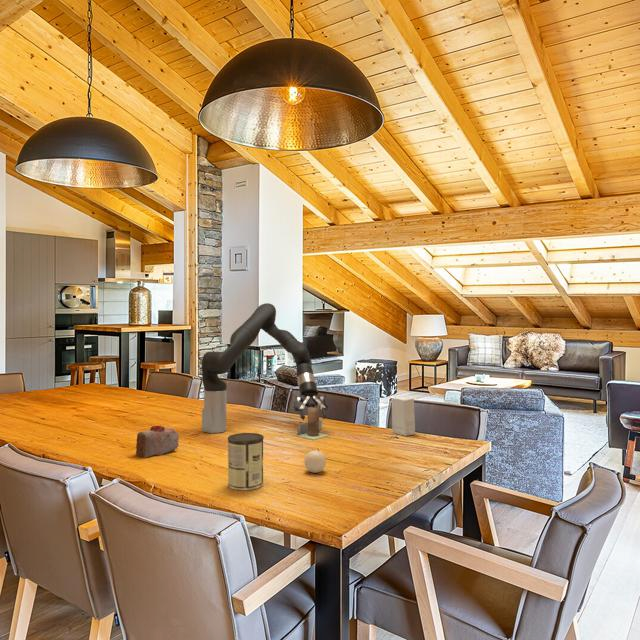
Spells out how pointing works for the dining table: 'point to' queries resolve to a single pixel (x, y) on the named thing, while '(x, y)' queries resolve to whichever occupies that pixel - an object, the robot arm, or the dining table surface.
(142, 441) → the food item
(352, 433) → the dining table surface
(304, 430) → the wall
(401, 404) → the skincare box
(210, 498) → the dining table surface
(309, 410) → the pin
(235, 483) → the coffee can
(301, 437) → the mat
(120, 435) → the dining table surface
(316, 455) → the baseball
